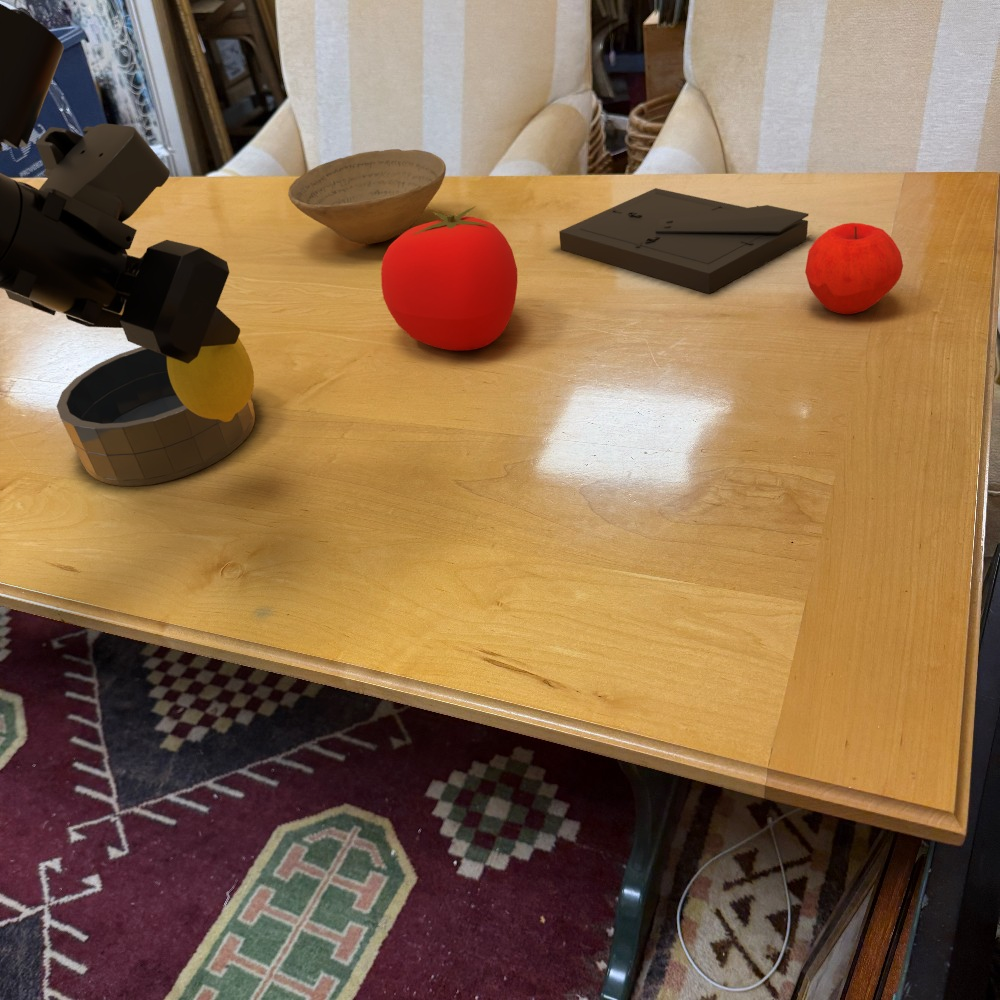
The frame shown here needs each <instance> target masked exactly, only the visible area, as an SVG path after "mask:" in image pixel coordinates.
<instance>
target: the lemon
mask: <svg viewBox="0 0 1000 1000" xmlns="http://www.w3.org/2000/svg"><path fill="white" fill-rule="evenodd" d="M167 369H168V374H169V378H170V382H171V384H172V387H173V389H174V391H175V393H176V394H177V396H178V398H179V399H180V401H181V402H182V403H183V405H184V406H185V407H186V408H188V409H189V410H190V411H192V412H193V413H195V414H197V415H198V416H201V417H204V418H208V419H219V420H221V421H223V422H229V421H231V420H232V419H233V417H234V415H235V414H236V413H238V412H239V411H240V410H241V409H242V408H244V407H245V405H246V404H247V402H248V401H249V399H250V397H251V398H252V395H253V391H254V386H255V385H254V384H255V375H254V374H255V373H254V368H253V364H252V361H251V358H250V356H249V353H248V352H247V349H246V347H245V345H244V344H243V342H242V340H241V339H240V338H239V337H238V339H237V342H236V343H235V344H230V345H217V346H204V347H201V349H200V351H199V354H198V356H197V357H196V358H195V359H194V360H192V361H191V362H190V363H189V364H187V363H184V362H181V361H179V360H176V359H173V358H170V357H168V356H167Z"/></svg>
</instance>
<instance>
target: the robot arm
mask: <svg viewBox="0 0 1000 1000" xmlns="http://www.w3.org/2000/svg"><path fill="white" fill-rule="evenodd" d="M64 49H65V47H64V44H63V42H62V41H61V40H60V39H59V38H58V37H57V36H56V35H55V34H54V33H53V32H52V31H50V30H49V29H48V28H47V27H46V26H45V25H43V24H42V23H40V22H39V21H38V20H37V19H35V18H33V17H32V16H30V15H28V14H27V13H26V12H24V11H22V10H21V9H18V8H9V7H7V6H6V5H4V4H2V3H0V153H1V152H2V149H3V145H2V143H3V144H5V145H7V146H8V147H11V148H14V149H17V150H19V148H26V147H27V146H28V144H29V142H30V139H31V137H32V134H33V132H34V131H33V130H34V129H35V126H36V124H37V121H38V118H39V115H40V113H41V110H42V109H43V105H44V102H45V99H46V98H47V97H46V96H47V94H48V92H49V89H50V87H51V85H52V81H53V79H54V77H55V74H56V71H57V68H58V66H59V63H60V61H61V58H62V55H63V53H64ZM82 132H83V133H84V135H81V134H79V133H77V132H74V131H72V130H69V129H67V128H62V127H54V126H50V127H48V129H47V130H45V132H44V133H43V134H42V135H41V136H40V137H39V138H38V139H37V140H36V142H35V144H36V149H37V150H38V153H39V156H40V159H41V161H42V164H43V167H44V169H45V170H44V171H43V172H42V174H43V175H44V176H45V177H46V178H47V179H46V180H45V181H44V182H43V184H42V185H41V186H40V187H39V188H36V187H35V186H32V185H30V184H29V183H26V182H22V181H18V180H15V179H13V178H11V177H9V176H7V175H5V174H3V173H1V172H0V289H1V290H4V291H5V293H6V295H7V298H8V299H9V300H12V301H14V302H17V303H19V304H22V305H25V306H27V307H30V308H32V309H35V310H37V311H40V312H42V313H45V314H47V315H48V314H49V315H51V316H55V315H56V313H57V312H58V313H60V314H62V315H65V317H66V319H67V320H68V321H71V322H73V323H77V324H79V325H82V326H85V327H89V328H107V329H108V328H109V329H110V328H111V329H122V330H123V332H124V336H125V337H126V340H127V342H129V343H132V344H133V345H136V346H139V347H144V348H146V349H149V350H152V351H154V352H157V353H159V354H162V355H165V356H168V357H170V358H173V359H176V360H179V361H181V362H184V363H187V364H189V363H190V362H191V361H192V360H194V359H195V358H196V357H197V356H198V354H199V351H200V349H201V347H204V346H217V345H230V344H235V343H236V342H237V339H238V338H239V336H240V334H241V328H240V327H239V326H238V324H236V323H235V322H234V321H233V320H232V319H230V317H228V315H226V314H225V313H224V312H223V311H222V310H221V309H220V308H219V307H217V306H218V305H219V301H220V299H221V296H222V293H223V290H224V288H225V285H226V283H227V280H228V278H229V275H230V269H229V264H228V261H226V260H225V259H223V258H221V257H219V256H217V255H215V254H213V253H212V252H210V251H208V250H206V249H205V248H202V247H200V246H197V245H190V244H187V243H183V242H178V241H174V240H170V239H165V240H162V241H160V242H158V243H156V244H153V245H151V246H148V247H147V248H146V251H145V252H144V253H143V254H142V256H141V257H138V256H134V255H129V254H128V251H127V250H130V249H131V247H132V245H133V241H134V239H135V236H136V234H137V231H138V230H137V229H136V228H135V227H132V226H130V225H128V224H127V223H124V222H125V221H127V220H128V219H130V218H131V217H132V216H133V215H134V214H135V213H136V212H137V210H138V209H139V208H140V207H141V206H142V204H143V203H144V202H145V201H146V200H147V199H148V198H149V197H150V195H152V193H153V192H154V191H155V190H156V188H161V187H163V185H165V183H166V182H167V181H168V180H169V178H170V175H171V174H170V173H171V172H170V169H169V168H168V167H167V166H166V164H165V163H164V162H163V161H162V160H161V158H160V157H159V155H157V153H156V152H155V151H154V149H153V148H152V147H151V146H150V145H149V144H148V142H147V141H146V140H145V138H144V137H143V136H142V135H141V134H140V132H139V131H138V130H137V129H136V128H135V127H133V126H130V125H123V124H122V125H121V124H114V123H100V124H97V125H95V126H85V127H84V128H83V129H82Z"/></svg>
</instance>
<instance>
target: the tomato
mask: <svg viewBox="0 0 1000 1000" xmlns="http://www.w3.org/2000/svg"><path fill="white" fill-rule="evenodd" d="M476 207H477V206H476V205H474V206H473V207H471V208H469V209H466V210H464V211H462V212H460V213H458V214H456V215H454V214H453V213H450V214H448V215H446V214H443V213H439V212H435V211H432V214H434V215H435V216H437V217H439V218H440V219H438V220H434V221H429V222H425V223H422V224H418V225H416V226H413V227H411V228H408V229H407V230H406V231H404V232H403V233H401V234H400V235H398V237H397V238H396V239H395V240H394V241H393V242H392V243H390V245H389V246H388V247H387V250H386V251H385V253H384V255H383V258H382V263H381V268H380V269H381V270H380V277H381V278H380V279H381V283H380V284H381V292H382V296H383V297H382V298H383V300H384V303H385V305H386V307H387V310H388V312H389V313H390V315H391V317H392V318H393V319H394V321H395V323H396V324H397V326H398V327H399V328H401V329H402V331H403V332H405V333H406V334H407V335H408V336H410V338H412V339H413V340H416V341H418V342H420V343H423V344H425V345H428V346H430V347H434V348H437V349H441V350H446V351H456V352H459V351H472V350H478V349H481V348H485V347H487V346H488V345H490V344H491V343H493V342H494V341H496V340H497V339H498V338H499V337H500V336H501V335H502V334H503V332H504V331H505V329H506V327H507V326H508V323H509V322H510V320H511V317H512V315H513V311H514V308H515V304H516V296H517V290H518V267H517V263H516V259H515V256H514V252H513V248H512V247H511V245H510V243H509V241H508V240H507V238H506V237H505V235H504V234H503V233H502V231H500V230H499V228H498V227H497V226H496V225H495V224H493V223H492V222H490V221H488V220H484V219H481V218H478V217H474V216H466V215H467V214H468V213H469V212H471V211H472V210H474V209H475V208H476Z"/></svg>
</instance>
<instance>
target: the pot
mask: <svg viewBox="0 0 1000 1000" xmlns="http://www.w3.org/2000/svg"><path fill="white" fill-rule="evenodd" d="M56 409H57V412H58V415H59V418H60V419H61V422H62V425H63V426H64V428H65V430H66V432H67V434H68V437H69V439H70V441H71V443H72V445H73V447H74V449H75V451H76V453H77V455H78V457H79V459H80V461H81V464H82V466H83V468H85V470H86V472H87V473H88V475H90V476H91V477H92V478H93V479H95V480H97V481H99V482H101V483H105V484H108V485H114V486H117V487H118V486H119V487H140V486H151V485H156V484H157V485H158V484H161V483H166V482H171V481H174V480H177V479H178V480H179V479H181V478H183V477H187V476H189V475H192V474H194V473H197V472H200V471H201V470H204V469H206V468H208V467H210V466H212V465H214V464H216V463H218V462H219V461H221V460H222V459H224V458H225V457H227V456H228V455H230V454H231V453H233V452H234V451H235V450H236V449H237V448H239V447H240V446H241V444H243V443H244V442H245V440H246V439H247V438H248V437H249V435H250V433H251V432H252V430H253V428H254V426H255V421H256V413H255V410H254V403H253V400H252V396H251V397H250V399H249V401H248V402H247V404H246V405H245V407H244V408H242V409H241V410H240V411H239V412H238V413H236V414H235V415H234V417H233V419H232V420H231V421H229V422H223V421H221V420H219V419H208V418H204V417H201V416H198V415H197V414H195V413H193V412H192V411H190V410H189V409H188V408H186V407H185V406H184V405H183V403H182V402H181V401H180V399H179V398H178V396H177V394H176V393H175V391H174V389H173V387H172V384H171V382H170V378H169V374H168V369H167V356H165V355H162V354H159V353H157V352H154V351H152V350H149V349H146V348H144V347H141V346H139V347H137V348H134V349H130V350H127V351H124V352H121V353H119V354H116V355H114V356H112V357H110V358H108V359H105V360H104V361H103V360H102V361H101V362H99V363H97V364H95V365H94V366H92V367H90V368H89V369H88V370H86V371H84V372H82V373H81V374H80V375H79V376H77V377H75V378H74V379H73V380H72V381H71V382H70V383H69V384H68V385H67V386H66V387H64V389H63V391H61V394H60V396H59V399H58V401H57V403H56Z"/></svg>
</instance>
